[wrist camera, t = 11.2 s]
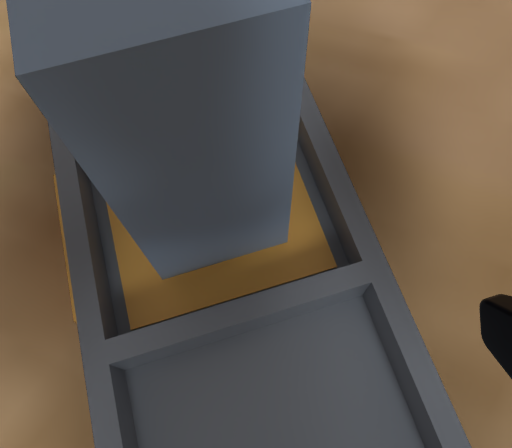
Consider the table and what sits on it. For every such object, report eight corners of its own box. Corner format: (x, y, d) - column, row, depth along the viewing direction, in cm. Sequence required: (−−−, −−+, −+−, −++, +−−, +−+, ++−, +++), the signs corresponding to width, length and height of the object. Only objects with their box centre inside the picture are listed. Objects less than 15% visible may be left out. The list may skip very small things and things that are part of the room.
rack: (489, 556, 14) (531, 580, 12) (152, 686, 13) (128, 740, 11) (243, -18, 25) (241, -62, 23) (47, 29, 24) (24, -13, 22)
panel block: (287, 242, 18) (311, 2, 8) (162, 279, 17) (15, 76, 7) (256, 158, 19) (243, -130, 9) (141, 191, 19) (-4, -77, 9)
